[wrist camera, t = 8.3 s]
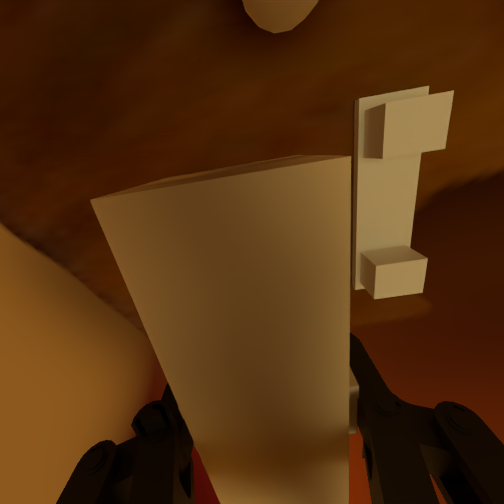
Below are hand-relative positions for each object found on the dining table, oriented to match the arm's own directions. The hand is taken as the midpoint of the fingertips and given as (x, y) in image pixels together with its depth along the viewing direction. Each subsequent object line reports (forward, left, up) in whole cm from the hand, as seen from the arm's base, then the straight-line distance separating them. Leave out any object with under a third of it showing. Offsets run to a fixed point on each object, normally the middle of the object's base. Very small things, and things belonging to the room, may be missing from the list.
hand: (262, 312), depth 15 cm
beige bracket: (+14, +2, -13) cm, 19 cm away
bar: (0, 0, +2) cm, 2 cm away
